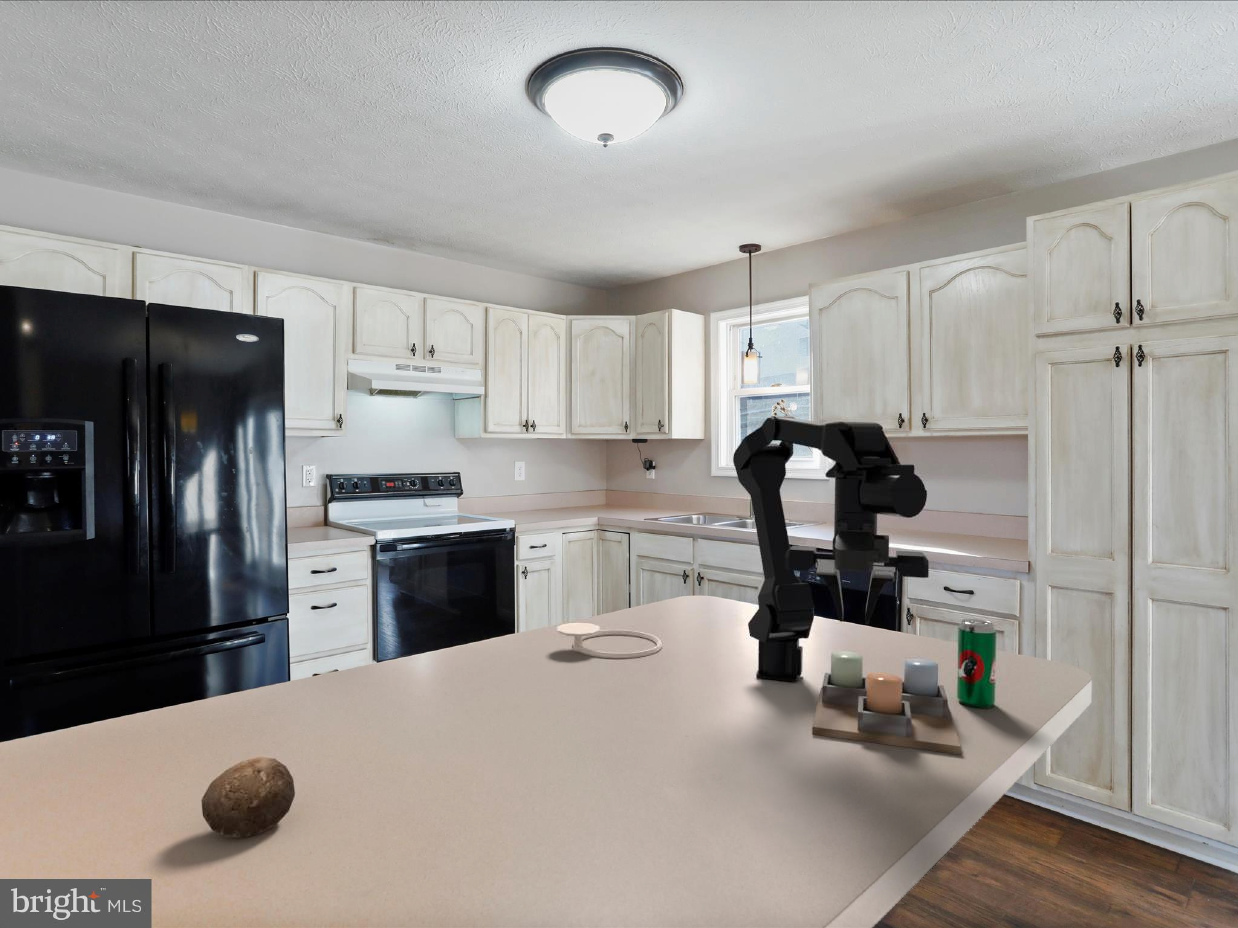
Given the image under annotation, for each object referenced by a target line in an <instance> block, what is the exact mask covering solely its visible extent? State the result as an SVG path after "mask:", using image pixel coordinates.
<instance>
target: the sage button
mask: <svg viewBox="0 0 1238 928" xmlns="http://www.w3.org/2000/svg"><path fill="white" fill-rule="evenodd" d="M863 660H864V658H863V655H861V654H859V653H856V652H851V651H843V650H842V651H841V650H840V651H834V652H833V651H832V653H831V654H830V673H831V683H832V684H834V685H836V686H841V687H850V688H857V687H861V686H862V677H864V676H863V672H864V671H863V670H864V669H863V667H864V666H863V664H864V663H863Z"/></svg>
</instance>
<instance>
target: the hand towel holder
mask: <svg viewBox="0 0 1238 928" xmlns="http://www.w3.org/2000/svg"><path fill="white" fill-rule="evenodd" d="M556 630H557V632H558V633H559V634H561V635H564V636H566V637H574V639H573V641H572V650H573V652H577V653H578V652H579V653H580V654H584V655H585V656H586V655H587V656H590V657H594V658H595V657H596V658H604V659H634V658H636V659H637V658H641V657H646V656H650V655H653V654H656V653H657V652H660V650H661V649H662V648H663V643H662V641H661V639H659V638H658V637H657V636H656V635H653V634H650V633H647V632H641V631H636V630H626V629H602V630H601V627H600V626H599V625H597V624H593V623H590V622H589V623H587V622H571V623H563V624H561V625H558V626H556ZM603 636H628V637H637V638H642V639H645V640H650V642H651V641H652V642H654V643H655V644H656V646H655V647H651V648H649V649H646V650H640V651H635V652H632V651H631V652H609V651H607V652H605V651H599V650H592V649H589V648H585V647H584V646H583V641H584V640H586V639H590V638H596V637H603Z"/></svg>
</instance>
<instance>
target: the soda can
mask: <svg viewBox="0 0 1238 928" xmlns="http://www.w3.org/2000/svg"><path fill="white" fill-rule="evenodd" d="M994 626H995V624H994V623H993V622H991V621H988V620H983V619H977V618H976V619H975V618H964V619H961V621H960V624H959V626H958V627H957V667H956V669H957V671H956V675H957V676H956V698H957V699H958V700H959V702H960V703H961V704H963V705H965V706H968V707H970V708H971V707H972V708H978V709H988V708H991V707H992V706H994V705H995V704H996V681H997V680H996V679H997V677H996V674H997V630H996V629H995V627H994Z"/></svg>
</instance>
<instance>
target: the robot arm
mask: <svg viewBox="0 0 1238 928" xmlns="http://www.w3.org/2000/svg"><path fill="white" fill-rule="evenodd" d="M773 441H778V442H779V441H780V443H779V444H777V443H775V442H773ZM794 445H797V446H798V445H799V446H803V447H807V448H811V449H812V448H813V449H816V450H818V451H821V454H822V456H823V457H826V458H828V459H830V460H832V461H833V462H835V463H834V465H833V466H832V467H831V468H829V469H828V470H827V471H826V472H825V477H826V478H828V479H829V478H830V479H834V516H833V517H834V518H833V519H834V523H833V525H834V526H833V529H834V531H833V538H832V552H818V551H817V547H816V546H808V545H806V546H805V545H792V546H791V545H790V539H789V534H788V529H787V524H786V523H787V522H786V517H785V513H784V507H783V501H782V496H781V487H782V485H783V483H784V482H785V478H786V475H787V469H786V468H787V467H786V465H787V463H788V462H789V461H790V459H791V458H792V457H793V455H794ZM732 462H733V466H734V468H735V471H736V476H737V479H738V482H739V483H740V484H741V486H742V487H743V488H744V489H745V491H746V492H747V493H748V494H749V495H750V500H751V506H752V511H753V516H754V523H755V524H754V525H755V529H756V535H757V541H758V546H759V553H760V558H761V565H762V570H763V571H762V572H763V576H764V580H763V582H762V586H761V587H760V590H759V593H758V595H757V600H758V601H757V602H758V609H757V611H756V612H754V615H753V616H752V617H751V619H750V620H749V621H748V622H747V623H748V624H747V627H748V633H749V636H750V638H752V639H755V640H757V641H758V652H757V653H758V654H757V655H758V661H757V662H758V664H757V672H756V673H755V677H756V678H759V679H768V680H774V681H777V680H778V681H787V682H793V683H794V682H795V683H796V682H797V681H798V679H799V677H800V676H801V675H802V672H803V650H804V649H803V646H802V645H801V646H800V639H809V637H810V633H811V630H812V626H813V623H814V620H815V610H814V609H815V608H816V605H815V603H814V602H813V601H814V600H813V597H812V588H811V586H810V583H808V582H801V580H800V578H798V576H797V574H796V572H795V571H803V572H805V571H809V570H810V569H811V568H812V567H813V566H815V568H816V572H815V577H816V578H821V579H823V580H824V582H825V584H826V586H827V588H828V590H829V593H830V594H831V597H832V600H833V604H834V606H835V610H836V614H837V617H838V619H839V622H841V623H842V622H844V603H843V602H844V601H843V593H842V584H841V576H840V575H841V573H840V572H847V571H855V572H856V571H857V572H861V573H864V574H865V573H871V575H870V581H869V588H868V594H867V600H866V607H865V624H866V625H868V624H869V623H870V622H871V621H870V620H871V618H872V615H873V611H874V609H875V606H876V603H877V601H878V598H879V596H880V594H881V593H882V590H883V588H884V587H885V586H886V583H893V582H895V573H896V571H898V573H899V574H900V575H902V577H905V578H919V579H920V578H921V579H926V578H927V579H929V572H930V571H929V569H930V568H929V567H930V566H929V559H928V557H927V556H926V554H924V553H923V552H922V551H906V550H905V551H904V550H896V551H895V556H894V555H893V556H891V555H890V535H888V534H885V535H884V534H878V515H883V516H891V517H897V518H899V517H900V518H908V519H911V518H913V517H914V518H915V517H916V516H918V515H919V514H920V513H921V512H922V511H923V509H924V507H925V506H926V503H927V498H928V491H927V489H926V487H925V483H924V482H923V480H922V479H921V478H920V476H918V475H917V474H916V473H915V465H914V464H909V463H908V464H901V462H900V461H899V457H898V455H896V453H895V451H894V449H893V447H892V445H891V443H890V441H889V440H888V437H887V436H886V434H885V431H884V428H883V426H882V425H881V424H880V423H878V422H867V421H865V422H864V421H833V422H827V423H826V422H820V421H813V420H812V421H811V420H807V419H802V418H801V419H800V418H796V417H794V416H790V415H789V416H788V415H787V416H785V415H783V416H782V415H778V416H777V415H772V416H770V417H767V418H766V419H765V420H764V422H763V423H762V424H761V426H760V427H758V428H757V429H755V430H754V431H752V432H751V433H749V434H747V435H746V436H745V437H744V438H742V441H741V442H740V443H739V445H738V446H737V448H736V449H735V451H734V453H733V458H732Z"/></svg>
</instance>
